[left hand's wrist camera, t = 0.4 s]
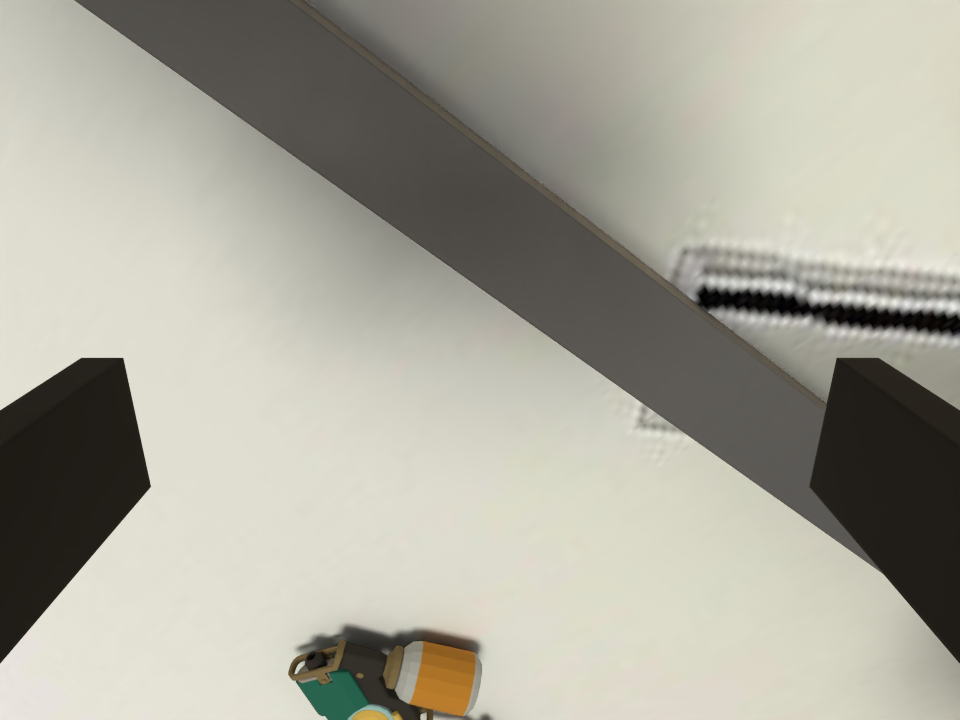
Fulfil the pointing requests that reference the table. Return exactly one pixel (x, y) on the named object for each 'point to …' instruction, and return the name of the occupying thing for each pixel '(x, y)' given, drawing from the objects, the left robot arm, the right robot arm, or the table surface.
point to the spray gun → (389, 681)
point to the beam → (490, 226)
